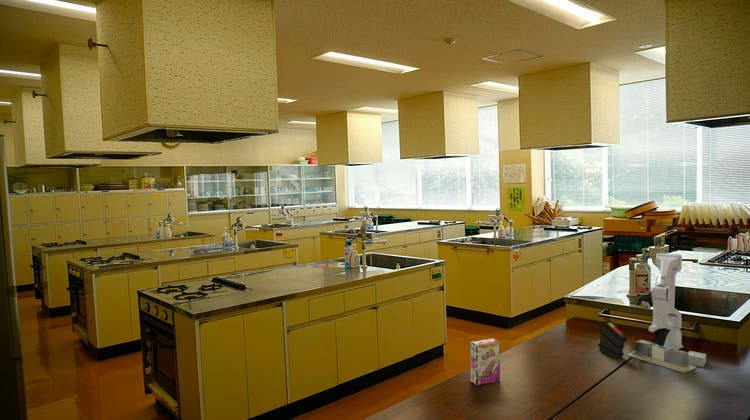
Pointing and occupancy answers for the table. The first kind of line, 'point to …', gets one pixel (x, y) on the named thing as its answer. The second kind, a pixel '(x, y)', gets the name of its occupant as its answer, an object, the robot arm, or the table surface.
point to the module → (659, 352)
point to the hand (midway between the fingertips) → (660, 345)
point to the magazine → (612, 340)
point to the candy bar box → (485, 361)
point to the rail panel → (674, 360)
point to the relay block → (696, 358)
